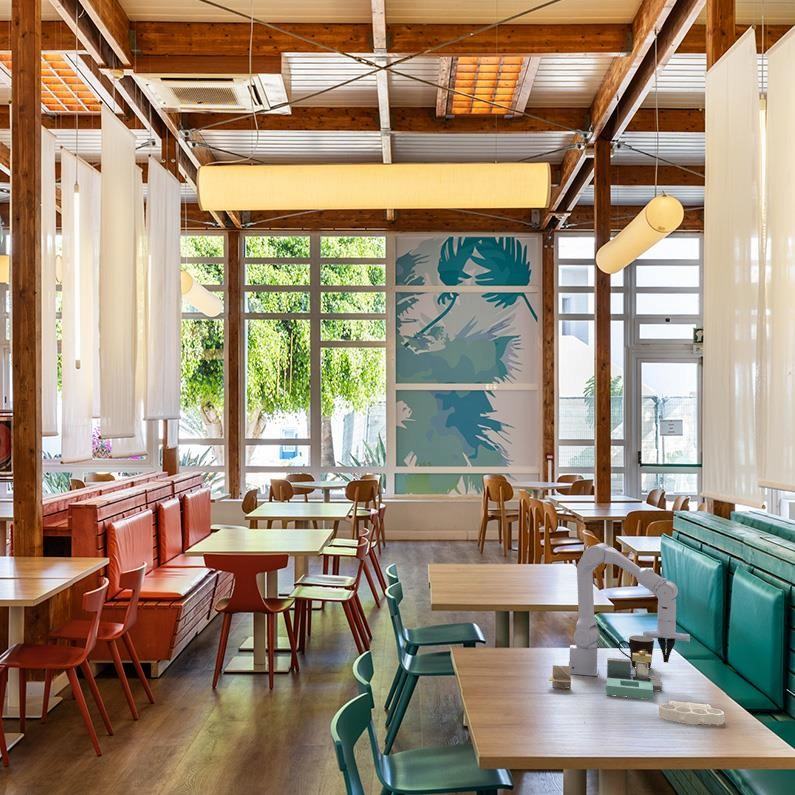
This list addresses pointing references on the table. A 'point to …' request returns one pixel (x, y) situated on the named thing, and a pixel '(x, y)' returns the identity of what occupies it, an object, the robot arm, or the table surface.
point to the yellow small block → (642, 657)
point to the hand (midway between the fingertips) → (665, 661)
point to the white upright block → (641, 671)
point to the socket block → (627, 672)
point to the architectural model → (561, 676)
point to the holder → (630, 688)
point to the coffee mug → (639, 646)
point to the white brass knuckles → (691, 713)
